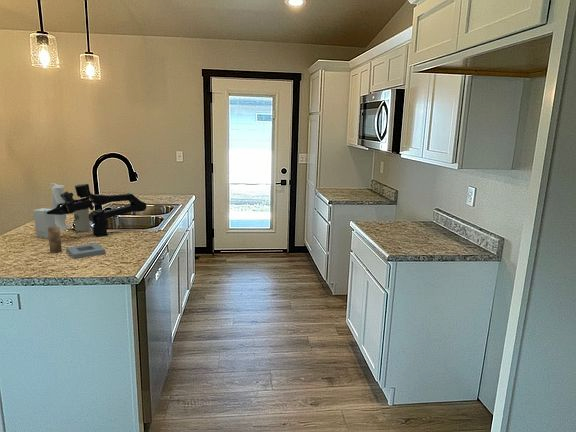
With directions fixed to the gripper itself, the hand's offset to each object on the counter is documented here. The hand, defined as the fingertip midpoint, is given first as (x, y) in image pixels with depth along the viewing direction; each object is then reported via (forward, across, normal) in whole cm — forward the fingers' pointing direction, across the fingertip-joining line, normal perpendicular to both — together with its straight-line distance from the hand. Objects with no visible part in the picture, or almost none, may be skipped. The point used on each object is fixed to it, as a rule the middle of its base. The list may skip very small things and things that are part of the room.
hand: (48, 212), depth 211 cm
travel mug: (-18, -21, +16) cm, 32 cm away
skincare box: (+2, -17, +13) cm, 21 cm away
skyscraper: (-9, -29, +12) cm, 33 cm away
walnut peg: (+6, +15, +19) cm, 25 cm away
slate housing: (-4, +26, +23) cm, 34 cm away
